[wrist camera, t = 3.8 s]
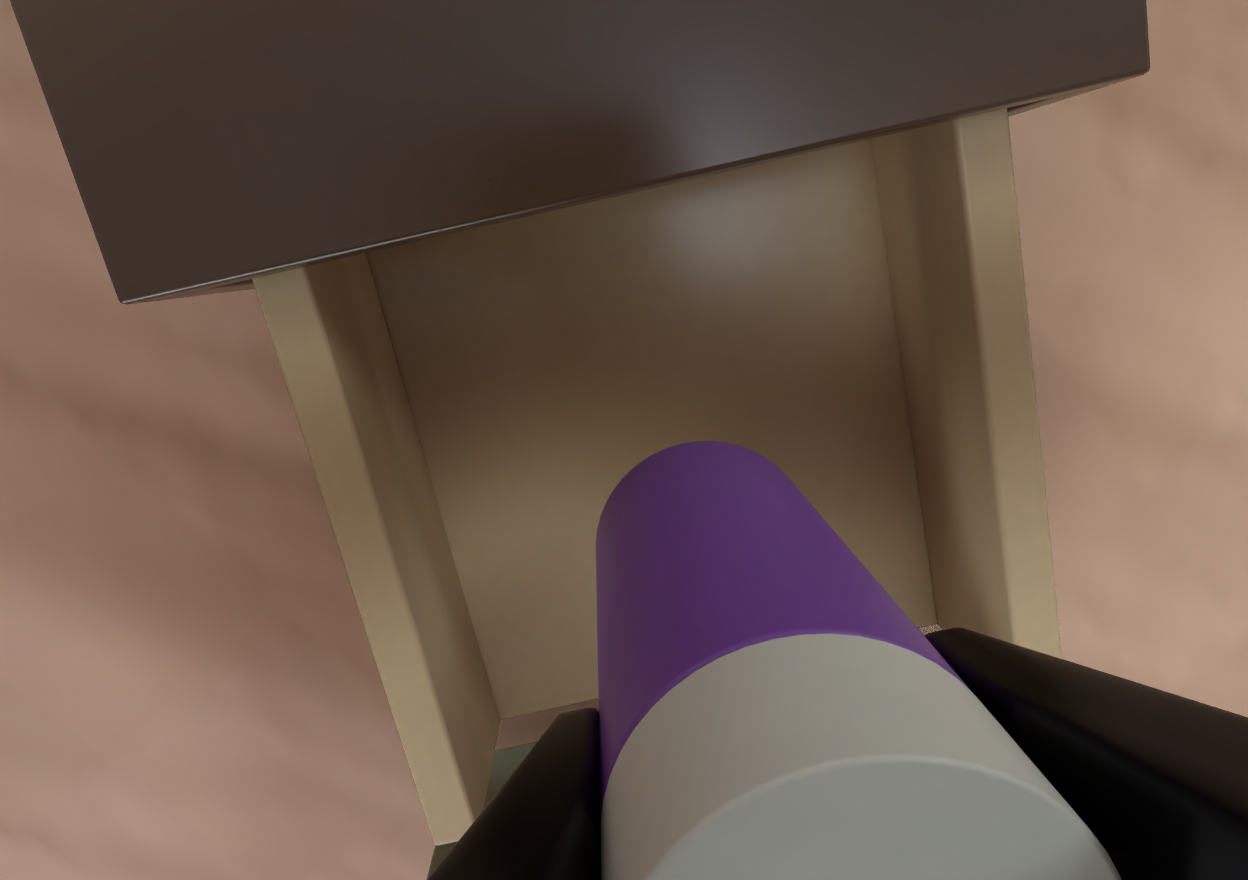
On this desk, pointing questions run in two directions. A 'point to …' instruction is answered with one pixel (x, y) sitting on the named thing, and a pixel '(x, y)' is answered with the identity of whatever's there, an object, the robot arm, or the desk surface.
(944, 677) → the glue stick
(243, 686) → the desk surface
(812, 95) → the cabinet
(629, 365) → the drawer
